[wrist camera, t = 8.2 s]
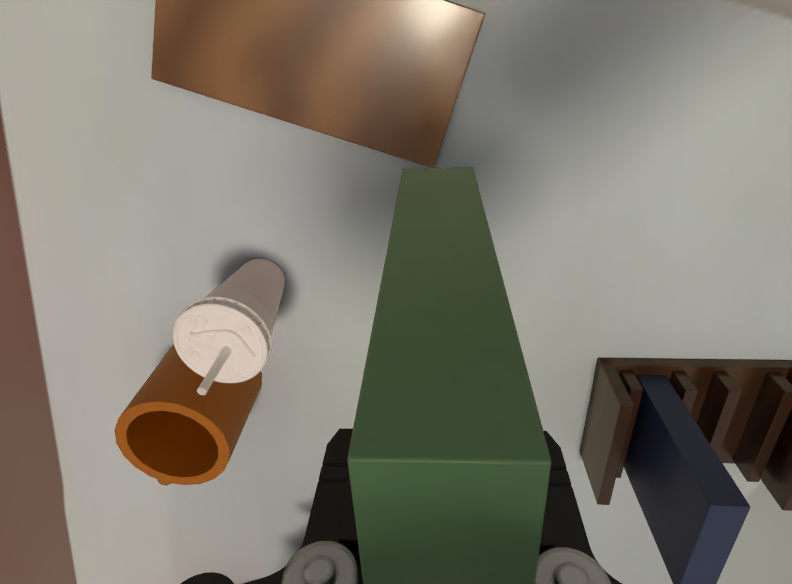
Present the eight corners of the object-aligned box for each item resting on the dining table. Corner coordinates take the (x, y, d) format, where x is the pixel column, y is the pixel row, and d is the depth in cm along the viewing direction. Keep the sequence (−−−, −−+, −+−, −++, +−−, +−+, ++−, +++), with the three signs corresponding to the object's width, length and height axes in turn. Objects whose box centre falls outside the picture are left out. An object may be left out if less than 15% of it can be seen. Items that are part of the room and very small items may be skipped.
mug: (139, 398, 49) (82, 472, 41) (191, 314, 44) (138, 381, 36) (221, 442, 51) (183, 520, 43) (280, 367, 46) (249, 440, 38)
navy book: (666, 375, 43) (751, 507, 31) (644, 453, 47) (712, 594, 35) (636, 375, 43) (710, 505, 31) (617, 452, 47) (676, 592, 36)
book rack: (795, 360, 42) (846, 409, 37) (754, 456, 47) (794, 511, 42) (597, 357, 43) (620, 405, 38) (579, 451, 49) (597, 504, 43)
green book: (472, 166, 17) (553, 462, 6) (467, 378, 22) (507, 787, 10) (402, 168, 17) (346, 458, 6) (411, 378, 22) (387, 779, 10)
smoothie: (292, 321, 44) (237, 441, 31) (218, 298, 43) (133, 412, 31) (309, 257, 41) (256, 362, 28) (230, 232, 40) (141, 328, 28)
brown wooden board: (484, 13, 32) (485, 13, 31) (433, 166, 36) (433, 168, 36) (165, -98, 30) (160, -100, 29) (155, 78, 35) (150, 78, 34)
